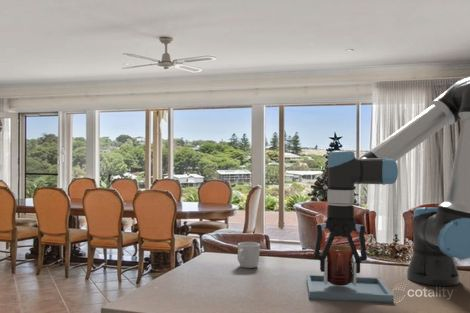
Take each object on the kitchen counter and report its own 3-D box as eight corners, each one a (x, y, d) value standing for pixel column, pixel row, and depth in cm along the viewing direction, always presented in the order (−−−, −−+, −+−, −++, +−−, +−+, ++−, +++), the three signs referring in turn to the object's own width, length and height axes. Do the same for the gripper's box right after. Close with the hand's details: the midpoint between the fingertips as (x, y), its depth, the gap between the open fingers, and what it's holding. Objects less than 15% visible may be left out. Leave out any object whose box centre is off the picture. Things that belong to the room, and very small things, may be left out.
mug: (323, 278, 134) (324, 244, 134) (353, 279, 133) (353, 245, 133) (323, 289, 123) (324, 252, 123) (356, 291, 121) (356, 253, 121)
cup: (248, 272, 147) (249, 248, 147) (228, 268, 151) (228, 245, 151) (264, 266, 156) (264, 243, 156) (244, 262, 160) (245, 240, 161)
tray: (379, 284, 135) (379, 277, 135) (393, 303, 117) (393, 295, 117) (306, 280, 138) (306, 274, 138) (309, 298, 120) (309, 291, 120)
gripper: (374, 203, 130) (373, 281, 130) (304, 202, 133) (303, 278, 132) (379, 206, 123) (378, 289, 123) (305, 204, 125) (304, 285, 125)
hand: (339, 283), depth 128 cm, fingers closed on mug, 7 cm apart
